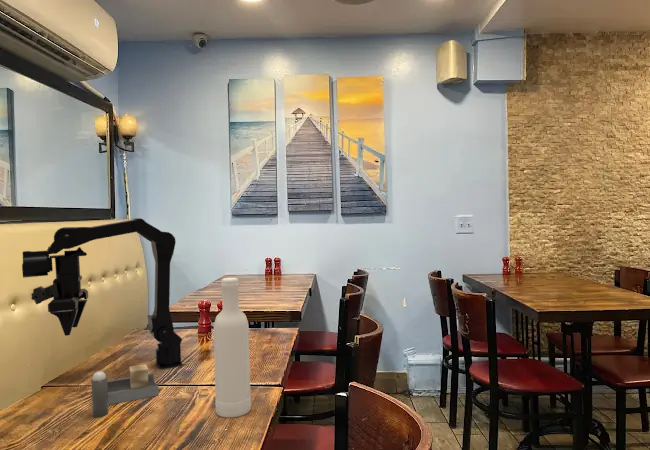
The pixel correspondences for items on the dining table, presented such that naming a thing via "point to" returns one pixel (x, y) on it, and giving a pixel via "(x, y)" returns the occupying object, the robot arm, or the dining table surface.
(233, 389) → the bottle
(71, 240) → the robot arm
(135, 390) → the grey open tray
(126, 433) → the dining table surface
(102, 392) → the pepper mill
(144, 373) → the block
